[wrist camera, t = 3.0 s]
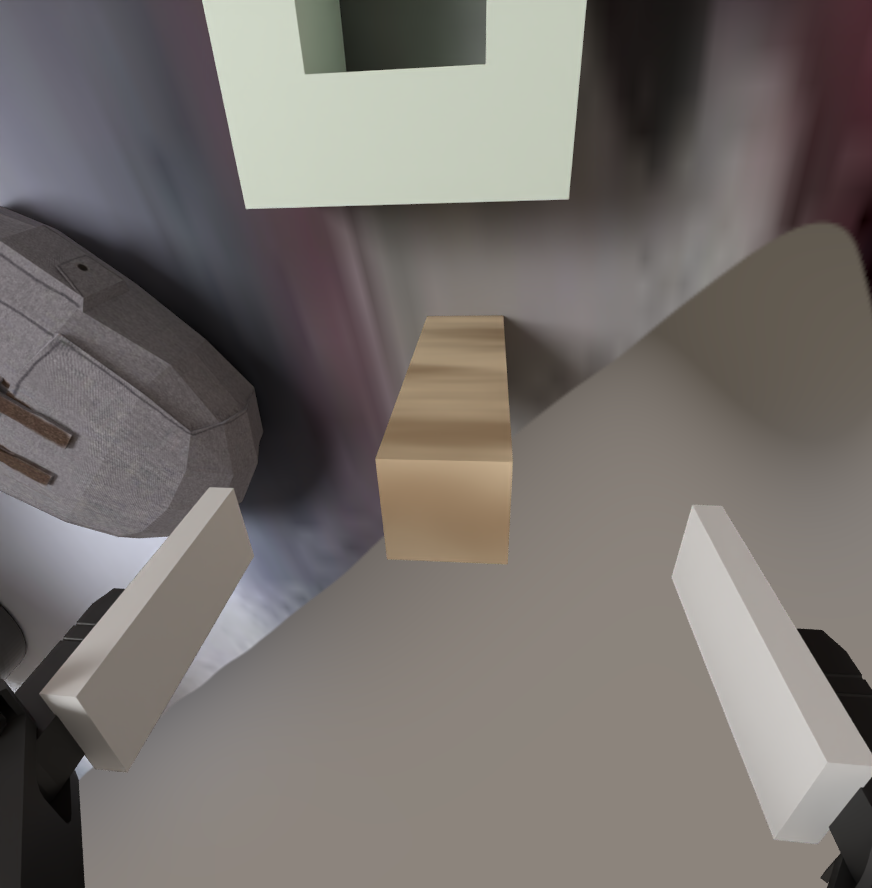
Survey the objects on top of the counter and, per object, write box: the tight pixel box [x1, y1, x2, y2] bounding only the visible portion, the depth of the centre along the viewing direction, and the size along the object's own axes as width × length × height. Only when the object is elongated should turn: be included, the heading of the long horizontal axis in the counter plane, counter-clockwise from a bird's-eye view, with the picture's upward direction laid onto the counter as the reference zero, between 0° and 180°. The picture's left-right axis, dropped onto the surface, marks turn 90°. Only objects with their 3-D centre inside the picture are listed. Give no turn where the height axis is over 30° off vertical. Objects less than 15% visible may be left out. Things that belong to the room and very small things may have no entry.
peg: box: [376, 316, 513, 564], centre depth 22 cm, size 4×4×14 cm
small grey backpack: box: [0, 206, 263, 538], centre depth 27 cm, size 15×8×20 cm
